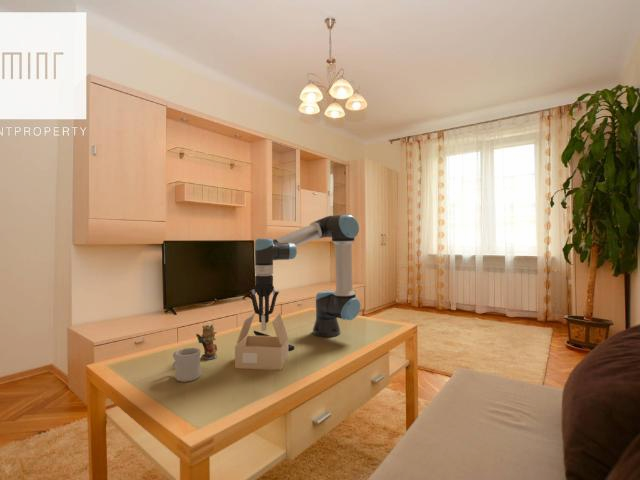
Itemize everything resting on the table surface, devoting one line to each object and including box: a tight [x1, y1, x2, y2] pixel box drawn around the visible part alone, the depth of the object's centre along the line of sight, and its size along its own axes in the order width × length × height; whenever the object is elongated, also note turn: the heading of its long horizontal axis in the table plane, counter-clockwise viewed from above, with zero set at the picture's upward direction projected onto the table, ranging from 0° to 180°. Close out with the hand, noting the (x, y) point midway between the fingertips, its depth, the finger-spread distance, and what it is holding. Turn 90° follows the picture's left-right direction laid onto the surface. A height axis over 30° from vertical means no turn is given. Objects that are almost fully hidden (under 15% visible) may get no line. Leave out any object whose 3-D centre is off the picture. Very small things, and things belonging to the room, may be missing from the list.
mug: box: [172, 347, 202, 383], centre depth 128 cm, size 12×9×10 cm
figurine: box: [196, 324, 218, 361], centre depth 148 cm, size 9×8×15 cm
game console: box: [253, 330, 295, 352], centre depth 160 cm, size 16×14×9 cm
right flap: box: [271, 314, 289, 345], centre depth 142 cm, size 13×1×10 cm, turn 175°
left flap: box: [236, 313, 256, 345], centre depth 143 cm, size 13×1×10 cm, turn 175°
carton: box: [234, 334, 289, 371], centre depth 143 cm, size 15×19×9 cm
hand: (263, 329), depth 143 cm, fingers closed
